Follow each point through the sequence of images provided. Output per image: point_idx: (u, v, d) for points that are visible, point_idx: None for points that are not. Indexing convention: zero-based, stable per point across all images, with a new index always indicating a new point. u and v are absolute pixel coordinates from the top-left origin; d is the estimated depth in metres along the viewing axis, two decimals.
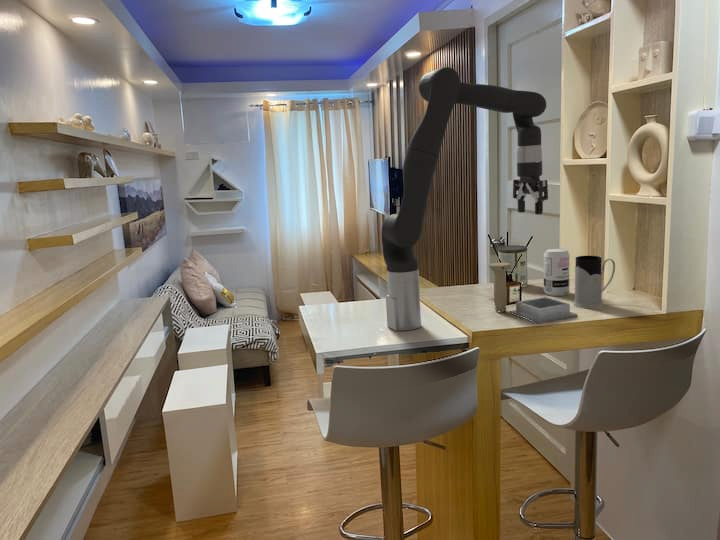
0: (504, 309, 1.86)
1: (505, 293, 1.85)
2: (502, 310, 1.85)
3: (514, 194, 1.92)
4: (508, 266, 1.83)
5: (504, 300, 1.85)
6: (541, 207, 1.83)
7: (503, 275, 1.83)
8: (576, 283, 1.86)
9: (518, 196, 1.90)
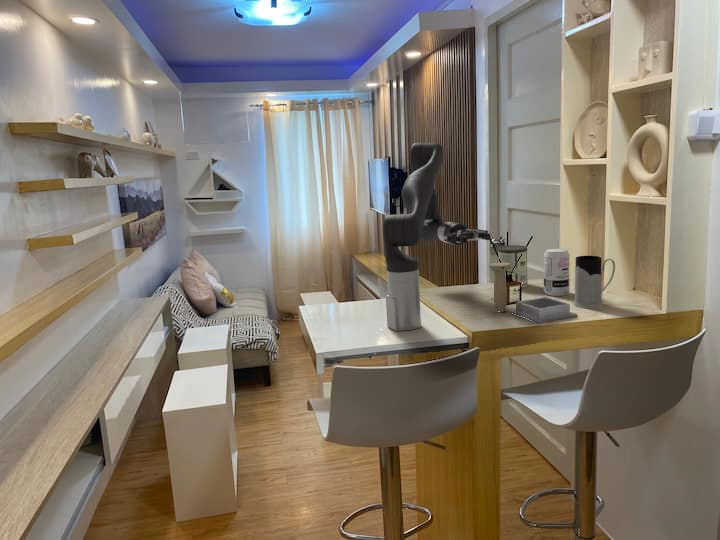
0: (504, 309, 1.86)
1: (505, 293, 1.85)
2: (502, 310, 1.85)
3: (451, 235, 1.97)
4: (508, 266, 1.83)
5: (504, 300, 1.85)
6: None
7: (503, 275, 1.83)
8: (576, 283, 1.86)
9: None
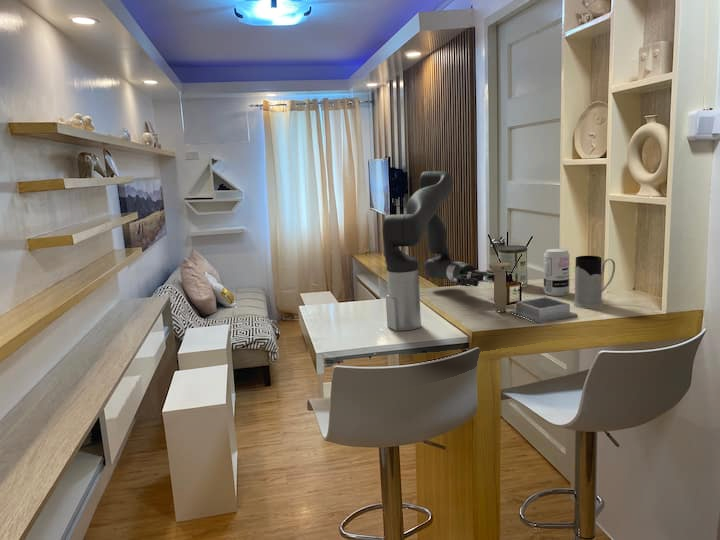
0: (504, 309, 1.86)
1: (505, 293, 1.85)
2: (502, 310, 1.85)
3: (461, 277, 1.94)
4: (508, 266, 1.83)
5: (504, 300, 1.85)
6: None
7: (503, 275, 1.83)
8: (576, 283, 1.86)
9: (468, 276, 1.94)
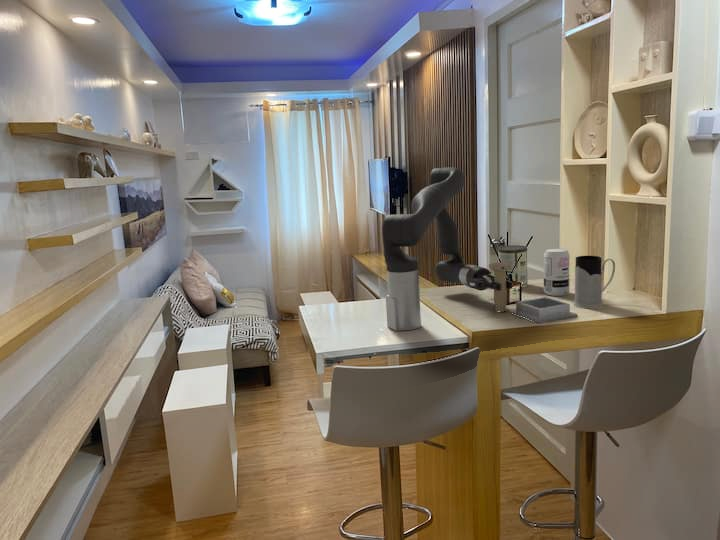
0: (504, 309, 1.86)
1: (505, 293, 1.85)
2: (502, 310, 1.85)
3: (482, 281, 1.86)
4: (508, 266, 1.83)
5: (504, 300, 1.85)
6: None
7: (503, 275, 1.83)
8: (576, 283, 1.86)
9: (490, 280, 1.87)
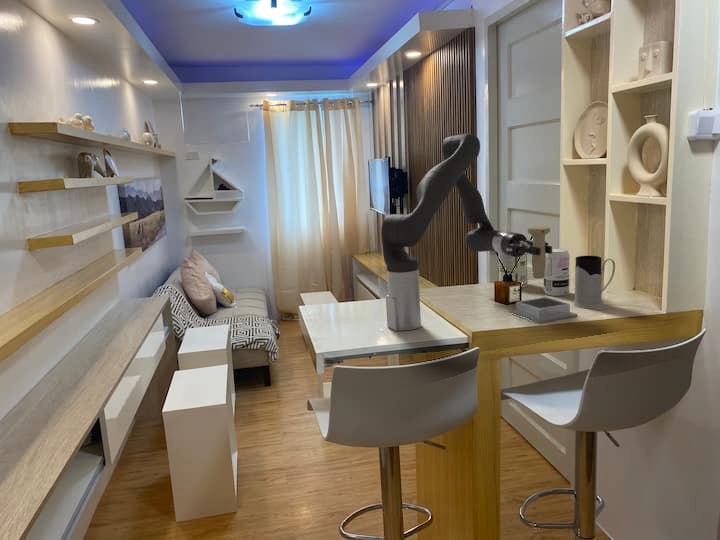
0: (543, 275, 1.78)
1: (544, 258, 1.77)
2: (541, 276, 1.78)
3: (520, 246, 1.79)
4: (548, 230, 1.75)
5: (543, 265, 1.77)
6: None
7: (542, 239, 1.76)
8: (576, 283, 1.86)
9: None
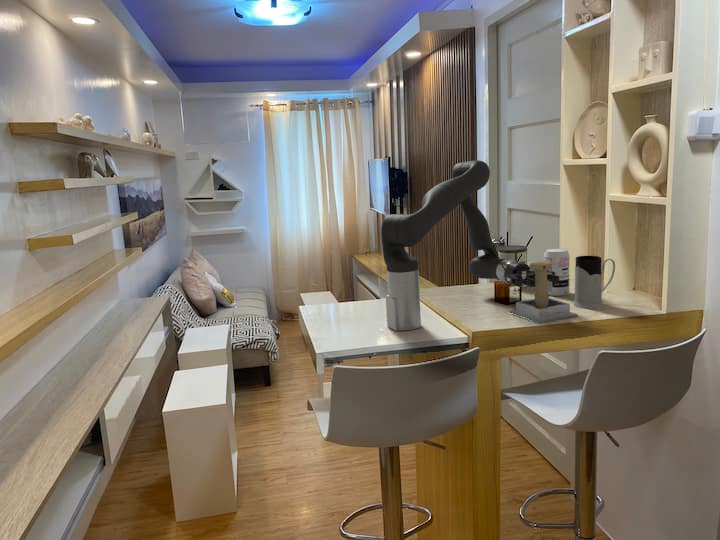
0: None
1: (547, 293, 1.78)
2: None
3: (516, 277, 1.80)
4: (549, 265, 1.77)
5: (546, 300, 1.78)
6: None
7: (544, 275, 1.77)
8: (576, 283, 1.86)
9: (523, 276, 1.80)
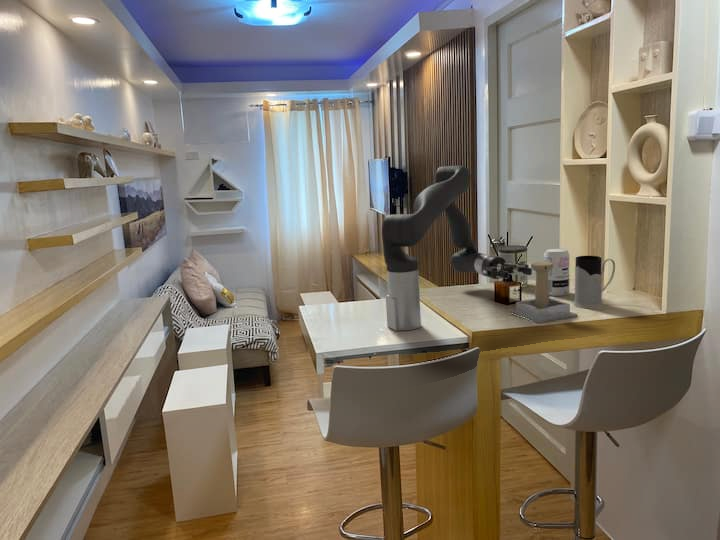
0: None
1: (547, 294, 1.78)
2: None
3: (492, 269, 1.92)
4: (551, 266, 1.76)
5: (546, 301, 1.78)
6: None
7: (545, 275, 1.77)
8: (576, 283, 1.86)
9: (498, 269, 1.92)
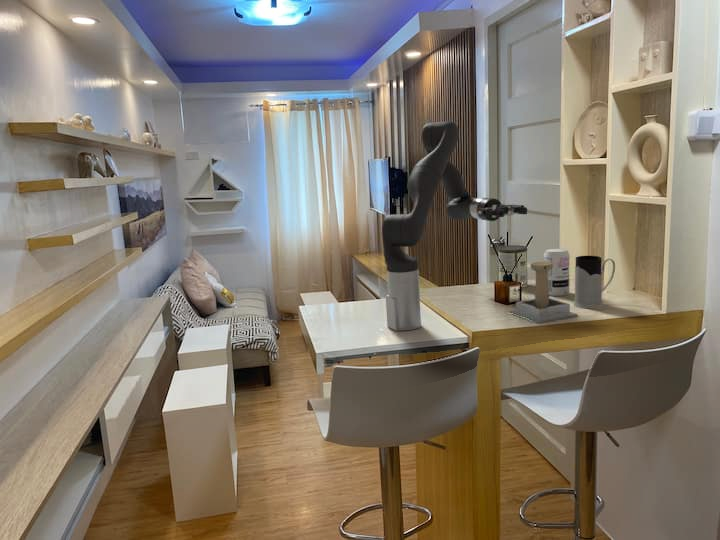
0: None
1: (547, 293, 1.78)
2: None
3: (487, 209, 1.90)
4: (550, 266, 1.76)
5: (546, 301, 1.78)
6: None
7: (545, 275, 1.77)
8: (576, 283, 1.86)
9: None
